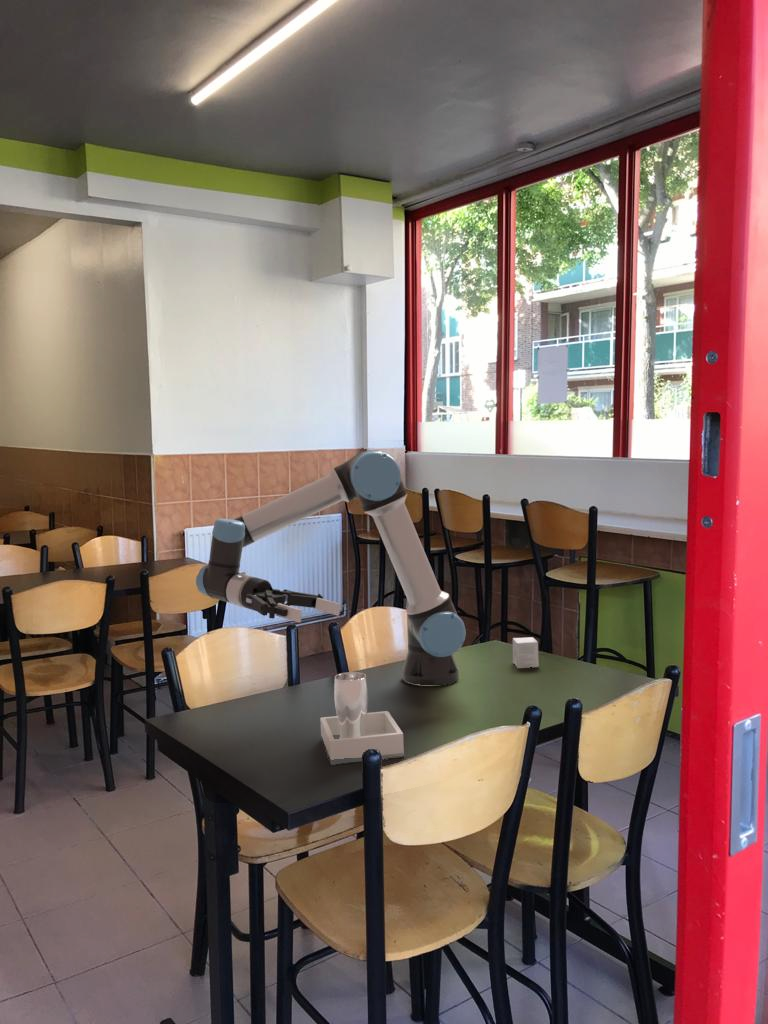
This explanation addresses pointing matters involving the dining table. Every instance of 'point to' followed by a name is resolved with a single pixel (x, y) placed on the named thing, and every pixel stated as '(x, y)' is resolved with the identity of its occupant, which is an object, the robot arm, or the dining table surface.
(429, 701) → the dining table surface
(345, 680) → the beer glass
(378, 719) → the tote
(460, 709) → the dining table surface
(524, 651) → the product box
